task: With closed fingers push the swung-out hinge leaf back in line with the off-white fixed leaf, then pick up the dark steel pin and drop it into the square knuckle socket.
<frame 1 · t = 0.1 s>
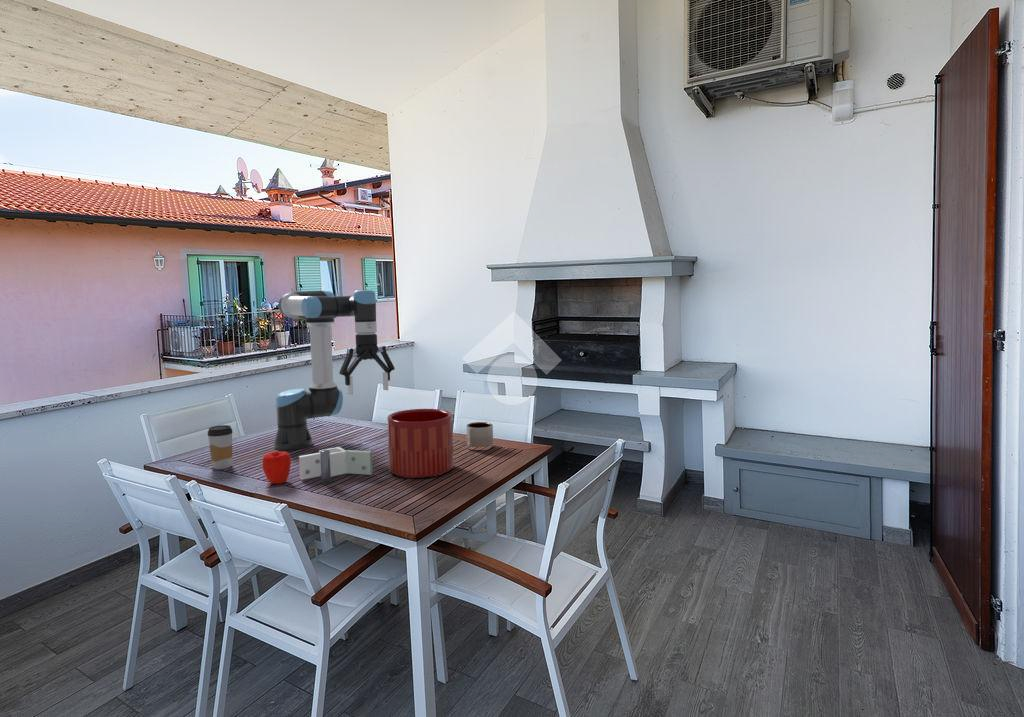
hand: (368, 392, 209), 28 cm above the table, fingers open, 13 cm apart
pin: (326, 482, 195), on the table
planter 2: (480, 448, 237), on the table
loose leaf: (359, 462, 203), point 4 cm above the table, hinge at -50.0°
coffee cup: (222, 467, 214), on the table
fixed hinge: (334, 472, 206), on the table
planter: (421, 470, 208), on the table
apple: (278, 483, 195), on the table
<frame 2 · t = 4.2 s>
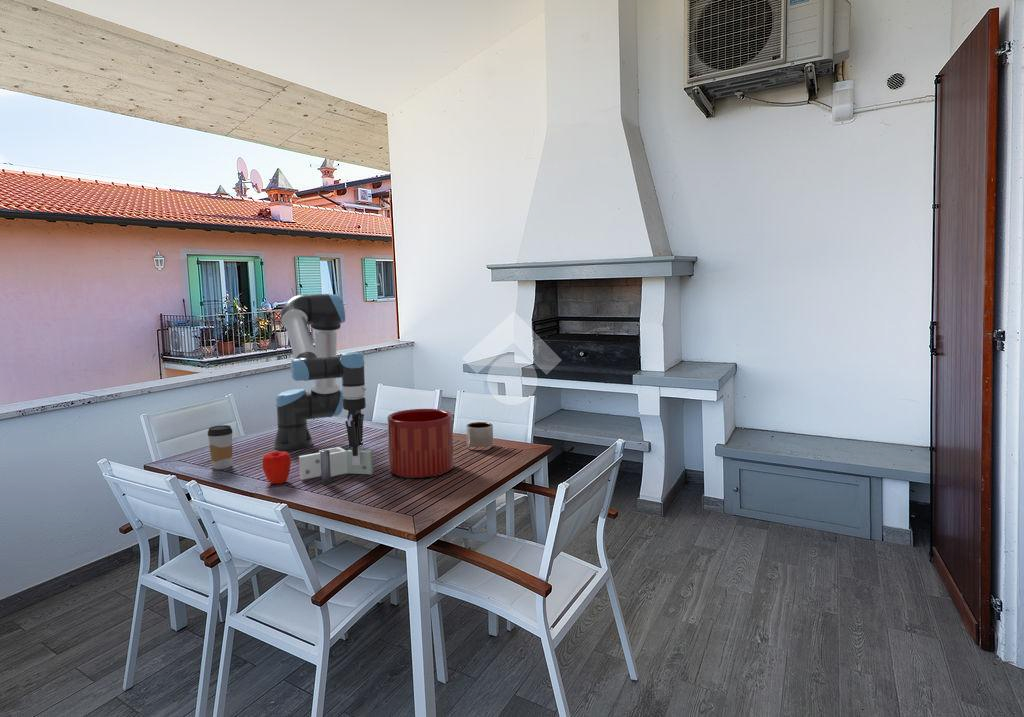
hand: (356, 464, 201), 4 cm above the table, fingers closed
loose leaf: (359, 462, 203), point 4 cm above the table, hinge at -48.3°, touching gripper
everything else where it was.
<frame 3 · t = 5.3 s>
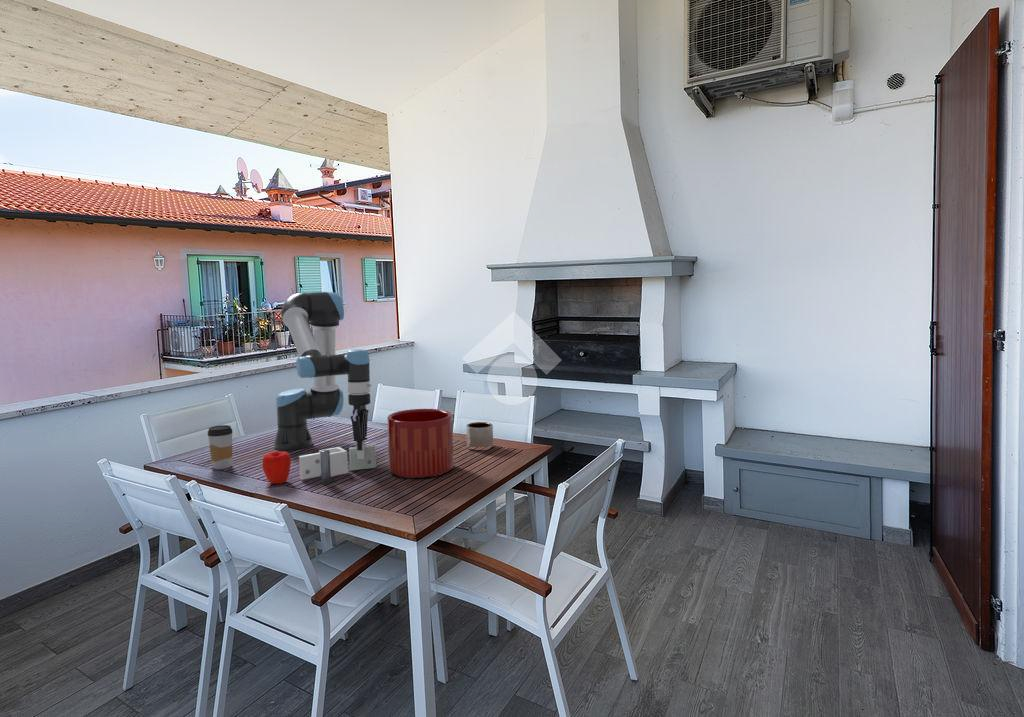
hand: (361, 458, 206), 5 cm above the table, fingers closed
loose leaf: (362, 457, 209), point 4 cm above the table, hinge at -17.1°, touching gripper
everything else where it was.
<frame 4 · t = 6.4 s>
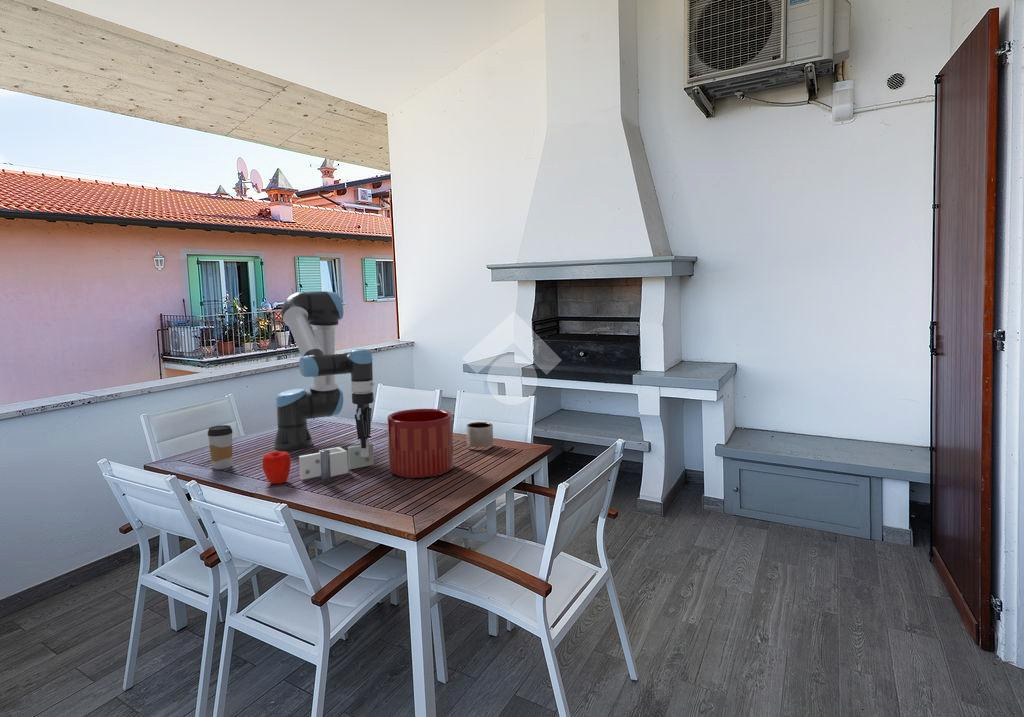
hand: (365, 456, 209), 5 cm above the table, fingers closed
loose leaf: (361, 456, 211), point 4 cm above the table, hinge at -2.3°, touching gripper
everything else where it was.
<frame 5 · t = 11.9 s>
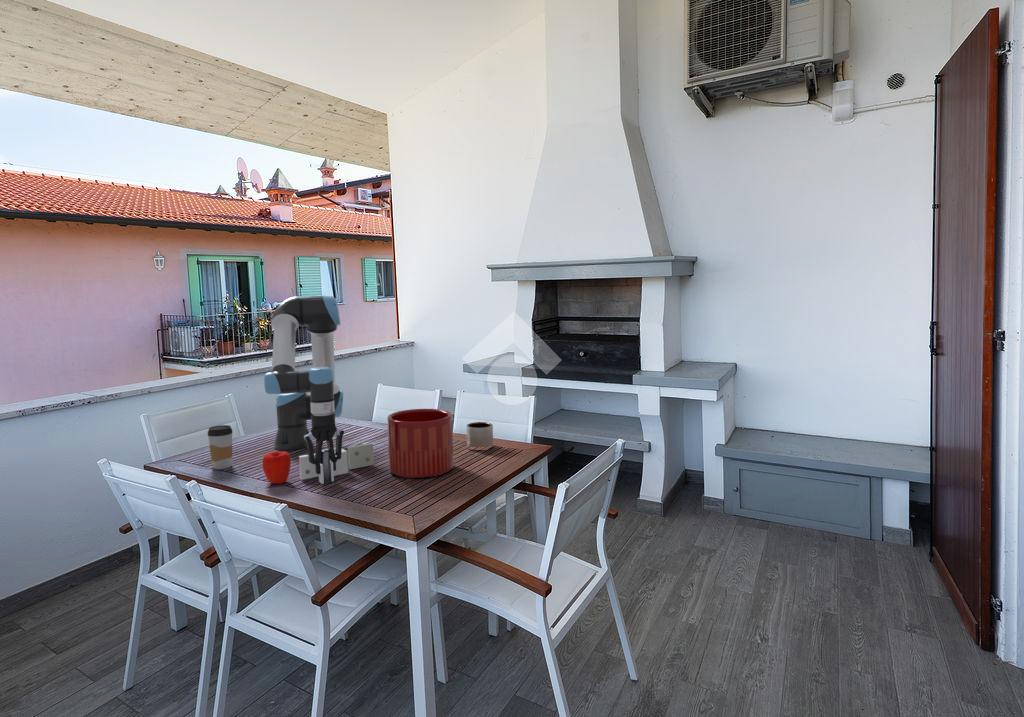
hand: (326, 481, 195), 0 cm above the table, fingers closed on pin, 3 cm apart
pin: (326, 482, 195), on the table, touching gripper
loose leaf: (361, 456, 211), point 4 cm above the table, hinge at -2.2°
everything else where it was.
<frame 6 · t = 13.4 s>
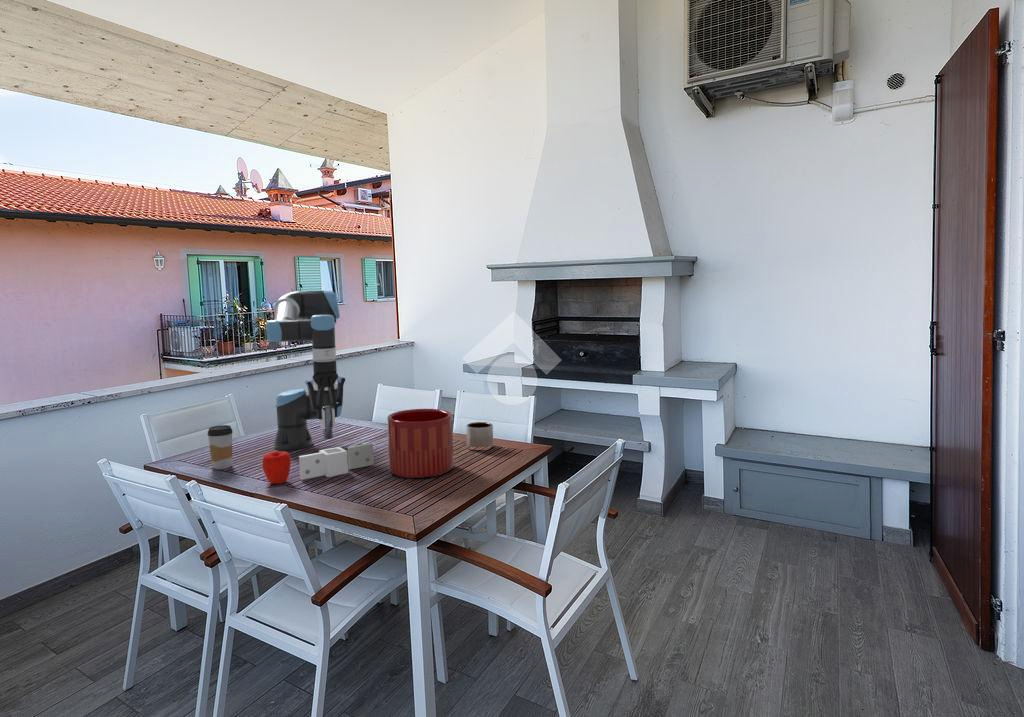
hand: (327, 427, 199), 18 cm above the table, fingers closed on pin, 3 cm apart
pin: (328, 437, 200), point 14 cm above the table, touching gripper
everything else where it was.
when the fingers open (10 cm above the table, at t = 15.2 s): pin drops 6 cm, resting in fixed hinge.
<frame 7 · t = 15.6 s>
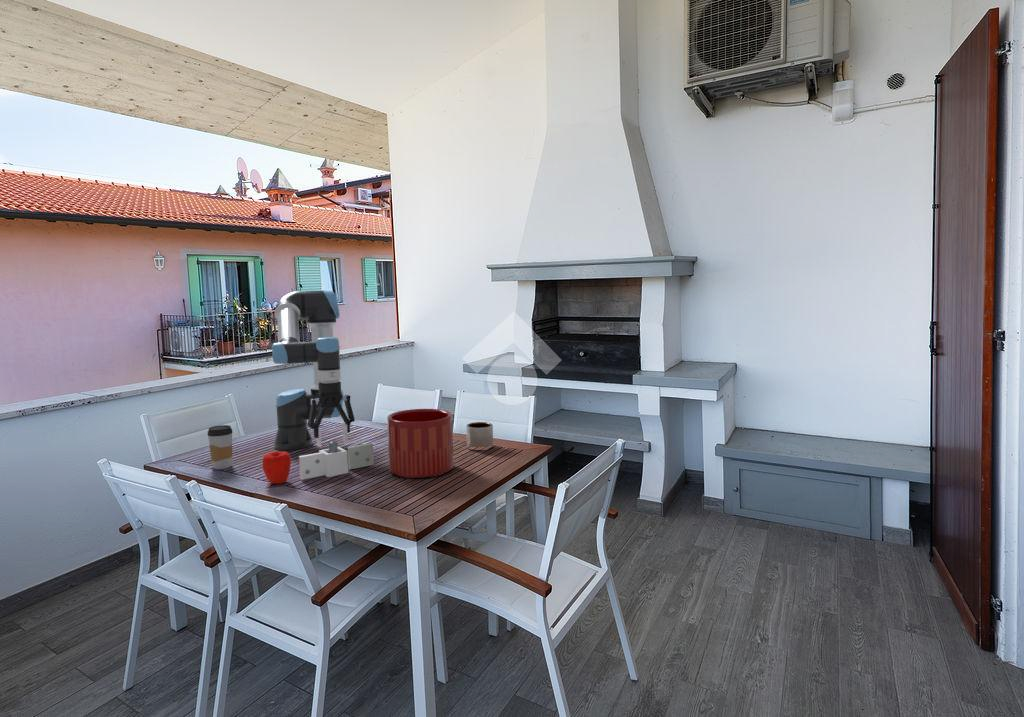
hand: (332, 444, 205), 10 cm above the table, fingers open, 9 cm apart
pin: (333, 472, 206), resting in fixed hinge
everything else where it was.
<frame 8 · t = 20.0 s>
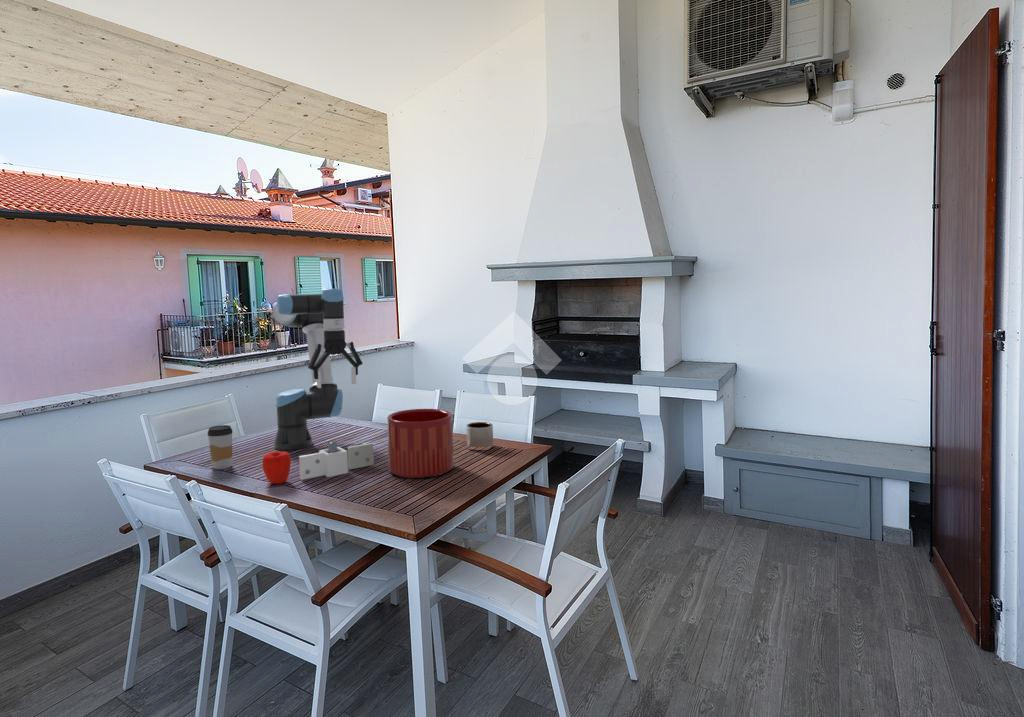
hand: (336, 385, 219), 29 cm above the table, fingers open, 13 cm apart
nothing on the table moved.
at the end: loose leaf at -2° (first picture: -50°); pin 0.1 cm off-centre on the fixed hinge, point 0.0 cm above the fixed hinge's base; pin tilted 0° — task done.
